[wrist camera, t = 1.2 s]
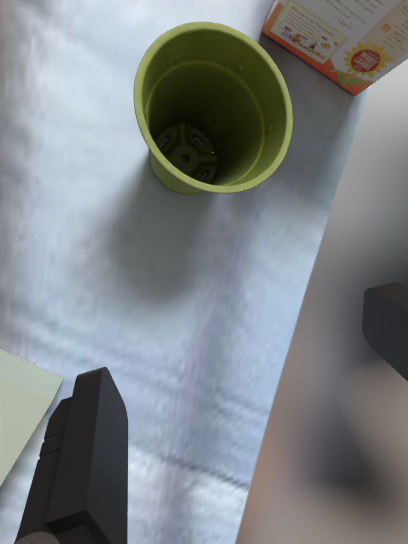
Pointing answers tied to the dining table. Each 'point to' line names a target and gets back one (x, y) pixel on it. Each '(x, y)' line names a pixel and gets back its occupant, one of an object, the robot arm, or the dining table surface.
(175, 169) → the plant pot
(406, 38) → the cracker box
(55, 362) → the dining table surface
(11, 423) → the hole block
